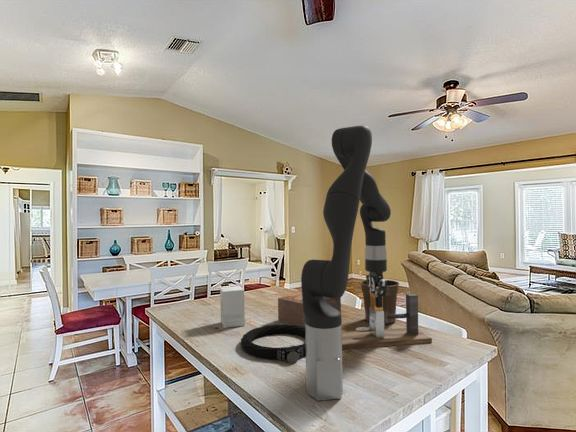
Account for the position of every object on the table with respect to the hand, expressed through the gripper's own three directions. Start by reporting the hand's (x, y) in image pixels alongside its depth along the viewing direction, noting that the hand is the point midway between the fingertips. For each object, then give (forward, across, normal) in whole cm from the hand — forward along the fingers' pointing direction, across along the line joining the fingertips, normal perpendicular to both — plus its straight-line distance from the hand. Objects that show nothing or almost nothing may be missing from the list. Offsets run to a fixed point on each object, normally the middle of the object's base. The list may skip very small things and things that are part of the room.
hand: (376, 305), depth 124 cm
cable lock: (+13, +1, +34) cm, 37 cm away
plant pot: (+13, +22, -10) cm, 27 cm away
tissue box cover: (+13, +32, +17) cm, 39 cm away
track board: (+12, 0, 0) cm, 12 cm away
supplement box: (+13, +29, +52) cm, 60 cm away
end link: (+10, 0, +3) cm, 11 cm away
